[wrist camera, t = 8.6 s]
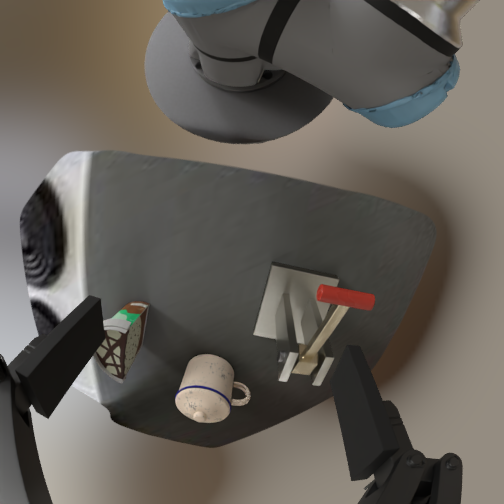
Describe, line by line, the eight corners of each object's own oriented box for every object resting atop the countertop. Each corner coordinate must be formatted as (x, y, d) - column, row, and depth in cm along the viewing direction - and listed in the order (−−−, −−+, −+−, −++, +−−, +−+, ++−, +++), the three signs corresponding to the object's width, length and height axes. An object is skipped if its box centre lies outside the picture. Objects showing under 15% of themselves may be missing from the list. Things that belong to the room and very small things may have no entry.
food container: (118, 282, 42) (87, 312, 32) (151, 296, 42) (125, 330, 33) (113, 337, 46) (89, 370, 36) (142, 349, 46) (121, 385, 37)
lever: (321, 276, 23) (323, 297, 21) (372, 287, 23) (377, 307, 21) (280, 353, 31) (279, 371, 29) (319, 359, 31) (320, 376, 29)
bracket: (271, 261, 39) (275, 317, 25) (337, 275, 40) (369, 332, 26) (253, 329, 43) (248, 398, 29) (312, 340, 44) (327, 407, 30)
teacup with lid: (187, 382, 48) (172, 428, 37) (185, 348, 45) (167, 395, 34) (248, 391, 48) (245, 440, 37) (254, 357, 45) (251, 409, 34)
